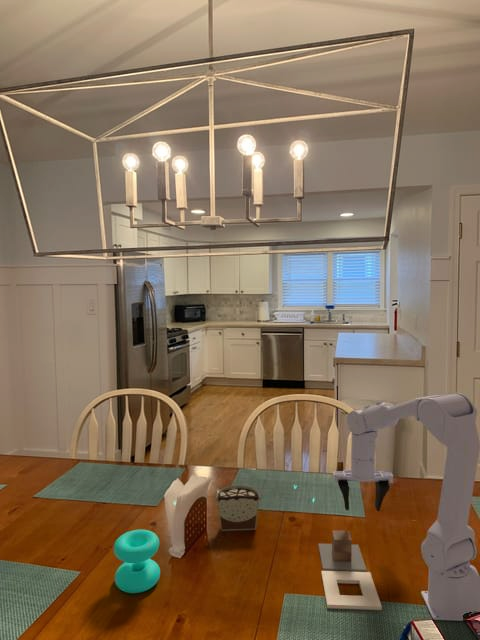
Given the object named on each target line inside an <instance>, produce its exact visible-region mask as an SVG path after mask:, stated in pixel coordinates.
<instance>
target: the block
mask: <svg viewBox="0 0 480 640" xmlns="http://www.w3.org/2000/svg"><path fill="white" fill-rule="evenodd" d="M331 531H332V532H331V535H332V536H331V544H332V554H333V558H334V562H351V553H352V544H353V543H352V542H353V541H352V537H351V533H350V531H349V530H337V529H336V530H331Z"/></svg>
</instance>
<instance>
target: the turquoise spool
mask: <svg viewBox="0 0 480 640" xmlns="http://www.w3.org/2000/svg"><path fill="white" fill-rule="evenodd" d="M159 548H160V539H159V537H158V535H157V534H156V533H155V532H153V531H151V530H147V529H133V530H130V531H127V532H125V533H123V534H121V535H120V536H119V537H118V538H117V539H116V540H115V542H114V545H113V553H114V555H115V557H116V558H117V559H118V560H120V561H122V562H123V563H121V565H120V566H119V567H118V568H117V570H116V572H115V574H114V583H115V585H116V587H117V588H118V589H119V590H121V591H123V592H124V593H128V594H140V593H143V592H146V591H148V590H150V589H152V588H153V587H154V586H155V585H157V583H158V582H159V580H160V577H161V568H160V566H159V564H158V563H157V562H156V561H155V560H154V559H151V558H152V557H154V556H155V554H156V553H157V552H158V550H159Z"/></svg>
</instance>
